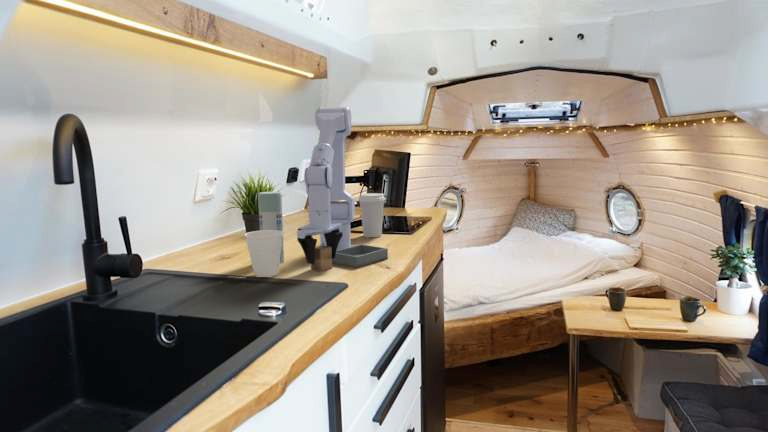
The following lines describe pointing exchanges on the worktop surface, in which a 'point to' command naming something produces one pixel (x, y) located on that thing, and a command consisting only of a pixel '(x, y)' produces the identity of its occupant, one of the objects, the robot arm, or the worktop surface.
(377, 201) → the coffee cup
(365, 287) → the worktop surface
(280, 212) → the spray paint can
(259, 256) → the cup
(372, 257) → the bin
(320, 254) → the walnut block
